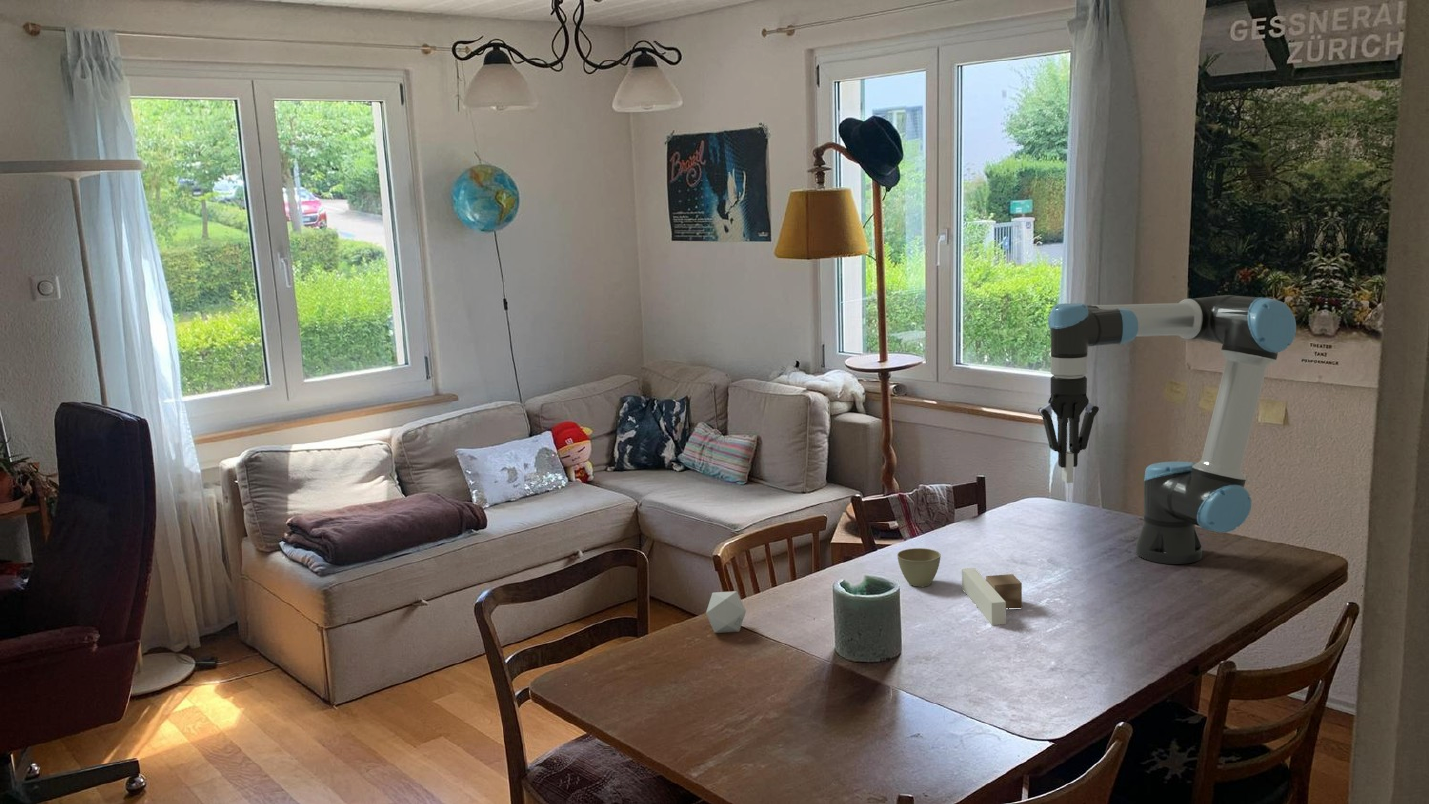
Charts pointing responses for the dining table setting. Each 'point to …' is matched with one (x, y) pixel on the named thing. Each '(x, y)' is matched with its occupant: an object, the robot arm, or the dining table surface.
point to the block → (1007, 589)
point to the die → (725, 612)
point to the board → (984, 596)
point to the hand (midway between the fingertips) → (1067, 481)
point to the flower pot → (919, 565)
